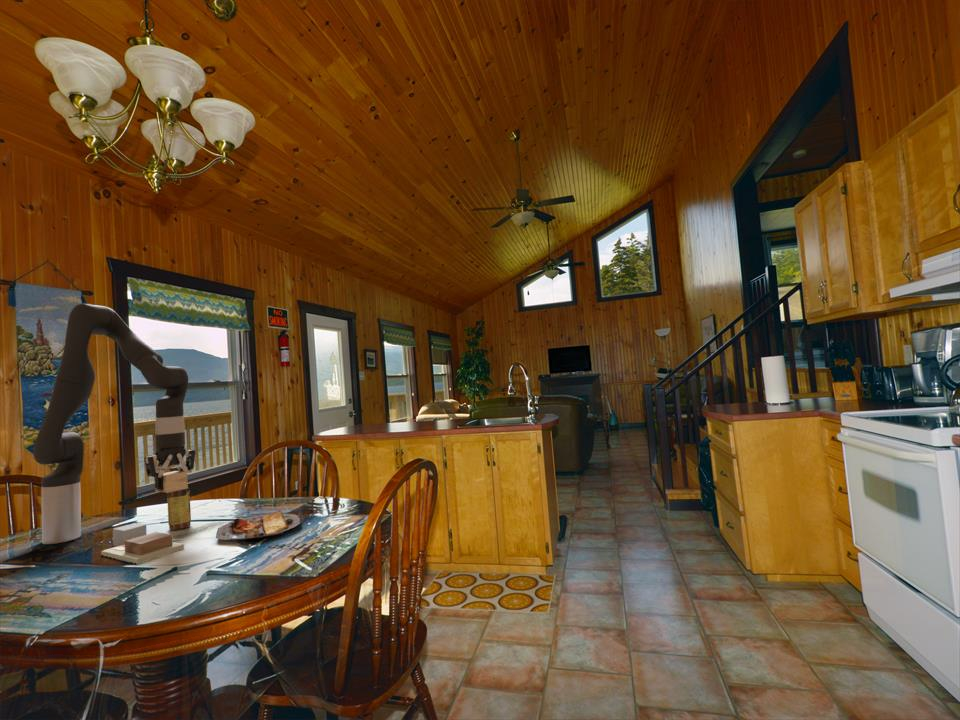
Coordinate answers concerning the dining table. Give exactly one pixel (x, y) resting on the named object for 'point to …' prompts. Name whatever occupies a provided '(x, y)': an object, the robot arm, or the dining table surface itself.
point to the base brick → (148, 543)
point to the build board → (129, 557)
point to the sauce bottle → (179, 508)
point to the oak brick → (174, 481)
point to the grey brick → (128, 533)
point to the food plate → (258, 526)
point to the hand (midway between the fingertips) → (171, 487)
